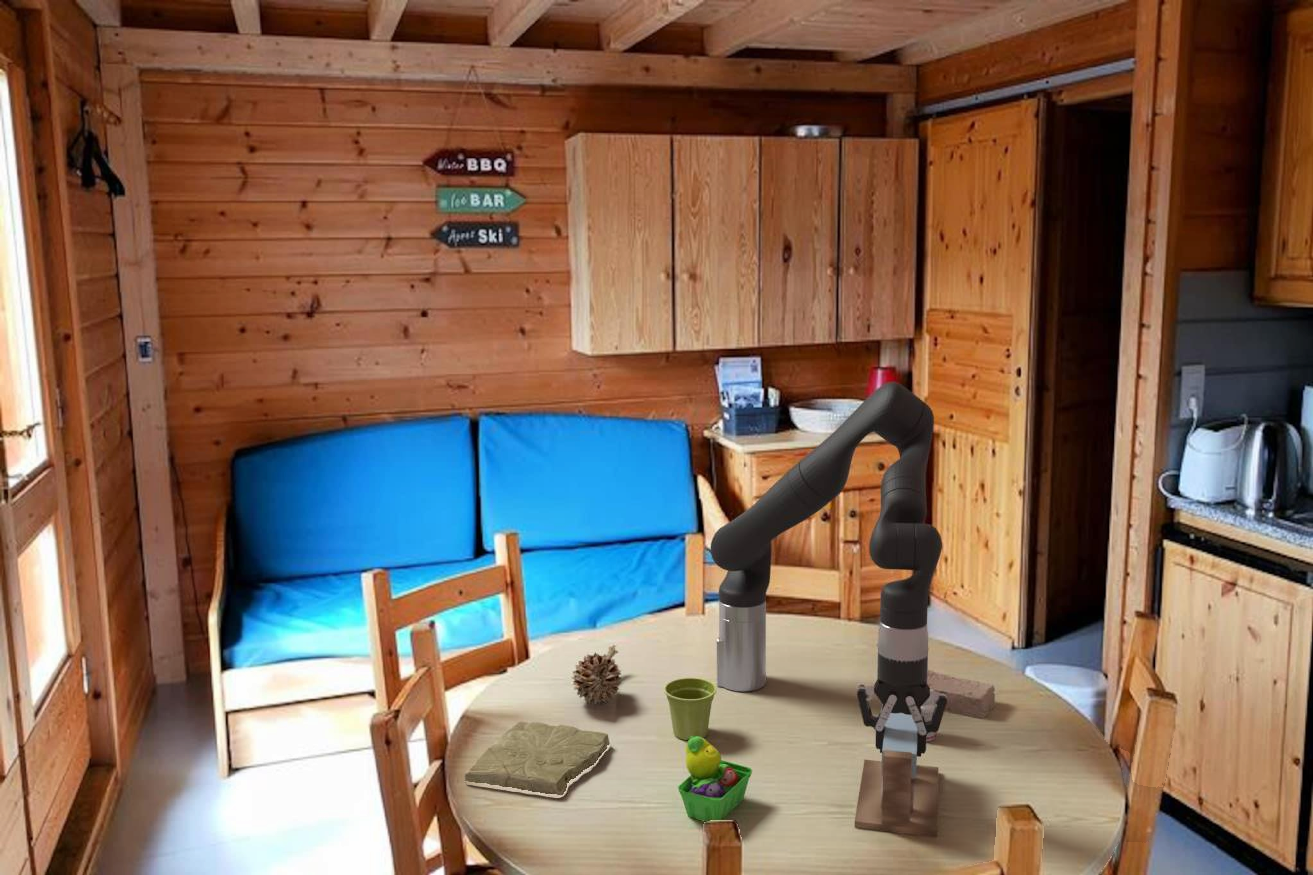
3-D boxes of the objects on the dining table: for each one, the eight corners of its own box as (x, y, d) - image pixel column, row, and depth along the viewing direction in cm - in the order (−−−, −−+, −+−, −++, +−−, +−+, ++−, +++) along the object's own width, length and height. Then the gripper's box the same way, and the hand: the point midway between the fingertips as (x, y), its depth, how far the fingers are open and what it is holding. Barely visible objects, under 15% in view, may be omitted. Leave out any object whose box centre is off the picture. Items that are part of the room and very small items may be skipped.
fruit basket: (719, 832, 164) (719, 762, 162) (669, 816, 168) (668, 748, 166) (754, 798, 173) (754, 732, 171) (705, 784, 178) (705, 719, 176)
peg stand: (854, 827, 164) (855, 753, 162) (864, 764, 183) (865, 697, 181) (936, 837, 161) (939, 761, 159) (938, 772, 180) (940, 704, 178)
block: (881, 775, 165) (882, 750, 164) (886, 734, 178) (887, 711, 177) (915, 778, 164) (916, 754, 163) (918, 737, 177) (918, 714, 176)
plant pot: (727, 732, 196) (727, 686, 194) (693, 750, 189) (692, 703, 188) (688, 717, 202) (688, 673, 201) (653, 734, 196) (653, 689, 194)
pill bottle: (937, 732, 194) (939, 688, 193) (932, 744, 190) (934, 698, 189) (910, 728, 196) (912, 684, 195) (905, 739, 192) (906, 694, 191)
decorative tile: (463, 787, 179) (462, 767, 178) (518, 734, 198) (518, 716, 197) (568, 805, 173) (567, 784, 172) (614, 748, 191) (614, 730, 191)
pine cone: (618, 718, 202) (617, 668, 200) (567, 717, 203) (565, 667, 201) (631, 671, 224) (630, 625, 222) (585, 670, 225) (583, 624, 223)
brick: (995, 704, 206) (996, 681, 205) (983, 721, 199) (984, 697, 198) (910, 687, 215) (911, 664, 214) (896, 702, 208) (896, 679, 207)
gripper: (951, 644, 169) (947, 746, 173) (857, 637, 173) (855, 737, 176) (951, 662, 162) (947, 768, 165) (853, 655, 166) (851, 759, 169)
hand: (900, 752), depth 171 cm, fingers closed on block, 5 cm apart
